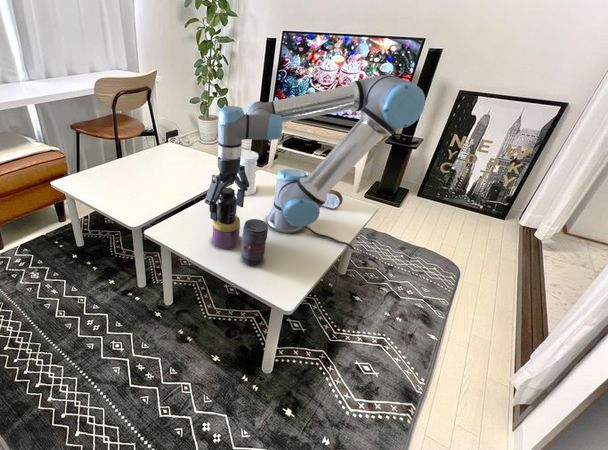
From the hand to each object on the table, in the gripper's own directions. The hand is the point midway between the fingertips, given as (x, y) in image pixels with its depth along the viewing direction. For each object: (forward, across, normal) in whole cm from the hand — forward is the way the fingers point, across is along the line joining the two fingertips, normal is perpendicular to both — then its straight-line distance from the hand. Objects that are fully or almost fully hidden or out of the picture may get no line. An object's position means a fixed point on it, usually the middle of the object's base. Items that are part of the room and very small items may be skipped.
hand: (227, 212), depth 122 cm
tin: (+13, -51, +11) cm, 54 cm away
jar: (+13, 0, 0) cm, 13 cm away
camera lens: (+13, +2, +14) cm, 19 cm away
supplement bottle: (+3, 0, 0) cm, 3 cm away
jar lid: (+4, 0, 0) cm, 4 cm away
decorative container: (+13, -37, -23) cm, 46 cm away
